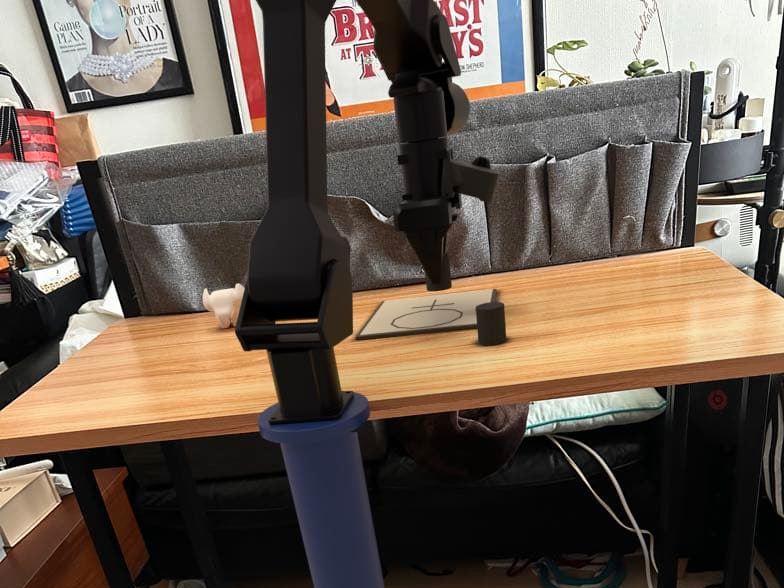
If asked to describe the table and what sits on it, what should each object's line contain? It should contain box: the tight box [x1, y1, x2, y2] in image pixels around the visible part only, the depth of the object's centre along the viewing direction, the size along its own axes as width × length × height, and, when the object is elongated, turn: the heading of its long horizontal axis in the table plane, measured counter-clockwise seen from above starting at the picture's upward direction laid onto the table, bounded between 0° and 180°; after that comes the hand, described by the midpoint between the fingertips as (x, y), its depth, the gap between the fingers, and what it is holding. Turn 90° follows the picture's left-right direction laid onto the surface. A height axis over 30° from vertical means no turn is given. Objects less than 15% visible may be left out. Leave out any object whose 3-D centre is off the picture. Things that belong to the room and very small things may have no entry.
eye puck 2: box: [476, 301, 507, 346], centre depth 81 cm, size 3×3×4 cm
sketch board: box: [355, 288, 498, 341], centre depth 98 cm, size 20×17×1 cm
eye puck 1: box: [424, 252, 453, 292], centre depth 91 cm, size 3×3×4 cm
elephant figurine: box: [202, 283, 245, 329], centre depth 107 cm, size 7×8×6 cm
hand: (438, 280), depth 91 cm, fingers closed on eye puck 1, 3 cm apart
